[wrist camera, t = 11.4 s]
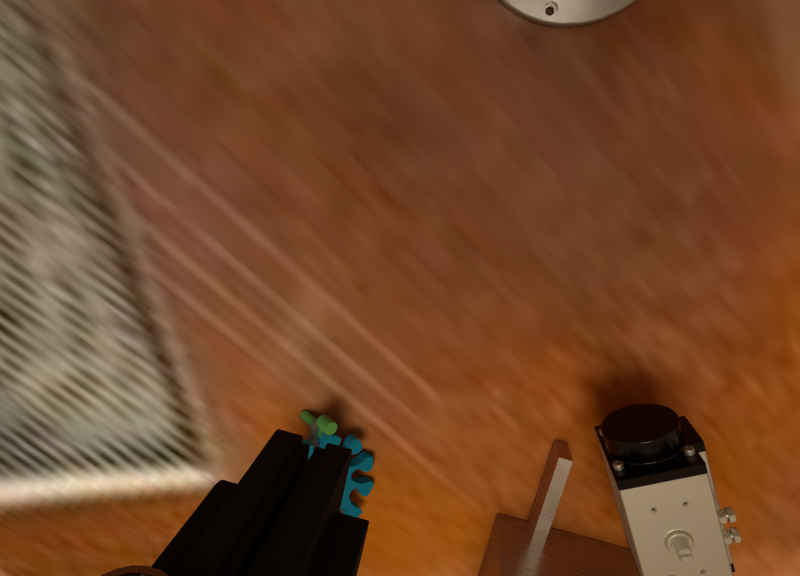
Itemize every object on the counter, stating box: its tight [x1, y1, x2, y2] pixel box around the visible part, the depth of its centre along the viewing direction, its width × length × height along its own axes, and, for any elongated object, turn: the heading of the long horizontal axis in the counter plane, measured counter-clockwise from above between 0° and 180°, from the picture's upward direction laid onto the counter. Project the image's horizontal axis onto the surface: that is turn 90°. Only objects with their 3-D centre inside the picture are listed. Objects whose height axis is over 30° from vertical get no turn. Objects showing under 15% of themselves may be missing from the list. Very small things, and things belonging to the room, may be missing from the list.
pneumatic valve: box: [595, 404, 741, 576], centre depth 35 cm, size 6×12×12 cm, turn 19°
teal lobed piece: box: [301, 410, 374, 518], centre depth 43 cm, size 11×6×10 cm
